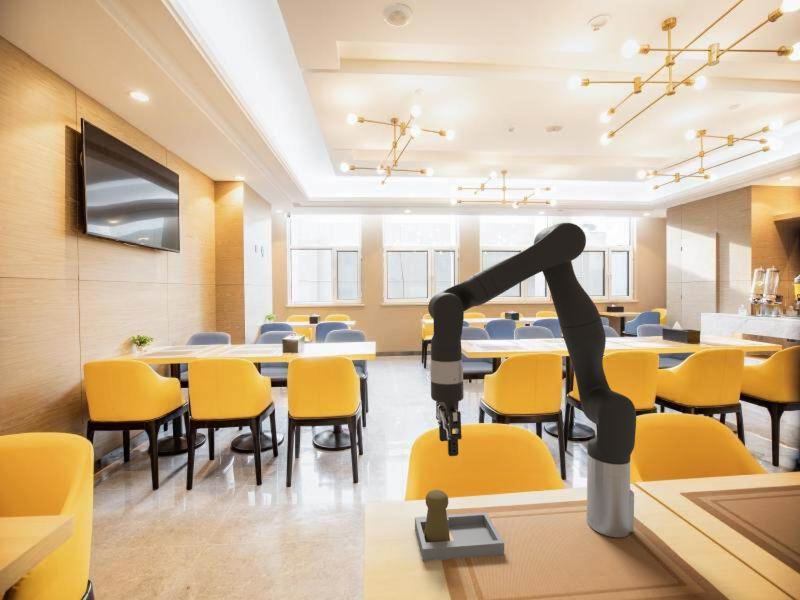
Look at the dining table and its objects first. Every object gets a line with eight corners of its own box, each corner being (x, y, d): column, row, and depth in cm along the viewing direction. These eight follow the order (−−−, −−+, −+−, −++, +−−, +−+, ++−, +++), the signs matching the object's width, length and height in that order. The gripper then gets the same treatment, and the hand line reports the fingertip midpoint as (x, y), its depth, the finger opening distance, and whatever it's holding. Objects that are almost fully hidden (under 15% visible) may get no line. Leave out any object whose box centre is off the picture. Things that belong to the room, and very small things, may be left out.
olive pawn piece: (449, 551, 83) (449, 501, 82) (422, 547, 84) (421, 498, 84) (451, 533, 88) (451, 487, 88) (425, 530, 90) (425, 484, 89)
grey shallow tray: (486, 522, 94) (486, 512, 94) (504, 554, 82) (504, 542, 82) (414, 527, 92) (414, 517, 92) (422, 561, 80) (422, 549, 80)
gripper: (471, 385, 81) (473, 459, 81) (454, 371, 95) (455, 435, 96) (437, 387, 80) (439, 462, 81) (425, 373, 94) (426, 437, 95)
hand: (448, 447), depth 88 cm, fingers open, 8 cm apart
